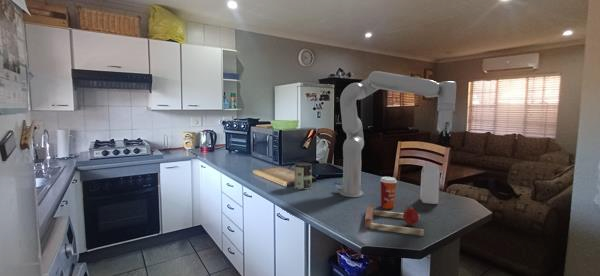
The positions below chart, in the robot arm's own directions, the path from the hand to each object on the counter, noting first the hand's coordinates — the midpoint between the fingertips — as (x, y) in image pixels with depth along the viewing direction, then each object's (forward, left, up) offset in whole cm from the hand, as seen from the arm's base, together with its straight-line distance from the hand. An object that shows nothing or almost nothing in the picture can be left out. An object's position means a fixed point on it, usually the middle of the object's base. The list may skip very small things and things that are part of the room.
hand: (443, 143), depth 138 cm
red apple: (-16, -33, -31) cm, 47 cm away
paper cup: (-25, -13, -31) cm, 41 cm away
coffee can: (-73, +6, -31) cm, 79 cm away
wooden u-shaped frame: (-22, -33, -30) cm, 50 cm away
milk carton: (-5, +2, -31) cm, 31 cm away
